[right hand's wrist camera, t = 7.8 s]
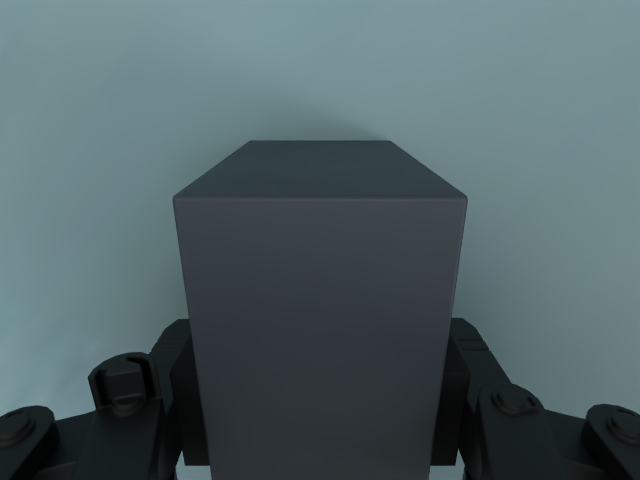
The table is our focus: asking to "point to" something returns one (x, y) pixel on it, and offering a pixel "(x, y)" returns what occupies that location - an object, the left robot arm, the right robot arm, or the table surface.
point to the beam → (320, 308)
